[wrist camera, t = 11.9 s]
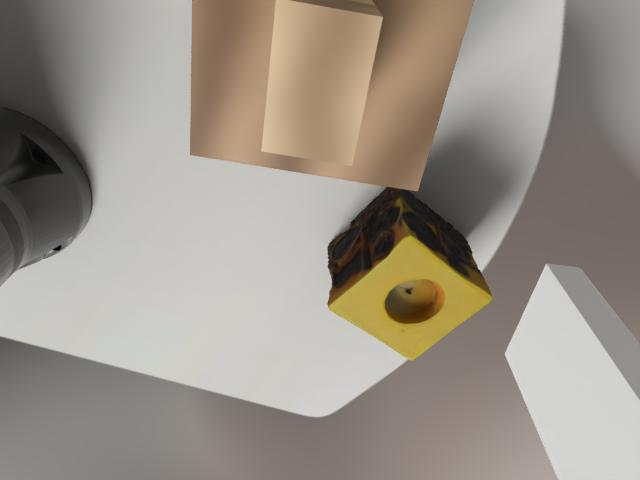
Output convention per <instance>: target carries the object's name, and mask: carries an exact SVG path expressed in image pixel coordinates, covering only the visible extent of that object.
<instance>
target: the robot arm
mask: <svg viewBox="0 0 640 480" xmlns="http://www.w3.org/2000/svg"><path fill="white" fill-rule="evenodd" d="M90 212H91V191H90V187H89V183H88V180H87V177H86V175H85V173H84V171H83V169H82V167H81V165H80V163H79V162H78V160H77V159H76V157H75V156H74V154H73V153H72V152H71V151H70V149H69V148H68V147H67V146H66V145H65V144H64V143H63V142H62V141H61V140H60V139H59V138H58V137H57V136H56V135H55V134H54V133H52V132H51V131H50V130H48V129H47V128H46V127H44V126H43V125H41V124H40V123H38V122H36V121H35V120H33V119H31V118H29V117H27V116H25V115H23V114H20V113H18V112H15V111H12V110H9V109H5V108H0V286H1V285H2V284H3V283H4V282H5V281H6V280H7V279H8V278H9V277H10V276H11V275H12V274H13V273H14V272H15V271H17V270H19V269H22V268H24V267H26V266H29V265H31V264H34V263H36V262H38V261H41V260H42V259H45V258H48V257H50V256H53V255H55V254H57V253H59V252H60V251H62V250H63V249H65V248H66V247H67V246H68V245H70V244H71V243H72V242H73V240H74V239H75V238H76V237H77V236H78V235H79V234H80V233H81V232H82V230H83V229H84V228H85V226H86V224H87V222H88V220H89V216H90ZM505 356H506V358H507V360H508V363H509V365H510V367H511V370H512V372H513V375H514V377H515V379H516V382H517V384H518V386H519V389H520V391H521V393H522V396H523V398H524V400H525V403H526V405H527V407H528V410H529V412H530V414H531V417H532V419H533V421H534V424H535V426H536V429H537V431H538V433H539V436H540V438H541V440H542V443H543V445H544V447H545V450H546V452H547V454H548V456H549V459H550V461H551V464H552V466H553V468H554V471H555V473H556V475H557V478H558V480H640V344H639V343H638V341H637V340H636V339H635V338H634V336H633V335H632V334H631V332H630V331H629V330H628V329H627V327H626V326H625V325H624V324H623V322H622V321H621V320H620V318H619V317H618V316H617V315H616V313H615V312H614V311H613V310H612V308H611V307H610V306H609V304H608V303H607V302H606V301H605V299H604V298H603V297H602V295H601V294H600V293H599V291H598V290H597V289H596V288H595V286H594V285H593V284H592V283H591V281H590V280H589V279H588V277H587V276H586V275H585V274H584V272H583V271H582V270H581V269H580V268H577V267H570V266H561V265H553V264H546V265H545V268H544V270H543V272H542V275H541V276H540V279H539V281H538V283H537V285H536V287H535V290H534V292H533V294H532V296H531V298H530V300H529V302H528V305H527V307H526V309H525V312H524V313H523V316H522V318H521V320H520V322H519V324H518V326H517V328H516V331H515V333H514V335H513V337H512V339H511V342H510V344H509V346H508V348H507V350H506V353H505Z"/></svg>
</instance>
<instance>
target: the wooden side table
mask: <svg viewBox="0 0 640 480" xmlns="http://www.w3.org/2000/svg"><path fill="white" fill-rule="evenodd" d="M473 2H474V0H192V61H191V135H190V155H194V156H200V157H206V158H213V159H219V160H225V161H231V162H237V163H244V164H250V165H256V166H262V167H269V168H275V169H281V170H287V171H293V172H300V173H306V174H312V175H318V176H324V177H331V178H337V179H343V180H349V181H356V182H362V183H368V184H374V185H380V186H387V187H393V188H399V189H405V190H412V191H418V189H419V186H420V182H421V179H422V176H423V172H424V169H425V165H426V162H427V159H428V155H429V152H430V148H431V145H432V142H433V138H434V135H435V131H436V128H437V125H438V121H439V118H440V114H441V111H442V108H443V104H444V101H445V97H446V94H447V91H448V87H449V84H450V80H451V77H452V74H453V70H454V67H455V63H456V60H457V57H458V53H459V50H460V46H461V43H462V40H463V36H464V33H465V29H466V26H467V23H468V19H469V16H470V12H471V9H472V6H473Z"/></svg>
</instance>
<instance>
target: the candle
mask: <svg viewBox="0 0 640 480" xmlns="http://www.w3.org/2000/svg"><path fill="white" fill-rule="evenodd" d="M328 256H329V257H328V259H329V261H328V263H329V264H328V268H329V271H330V275H331V278H332V288H331V290H330V297H329V300H328V308H329V310H331V311H333V312H334V313H336V314H337V315H339V316H341V317H342V318H344V319H346V320H347V321H349V322H351V323H352V324H354V325H355V326H357V327H359V328H361V329H362V330H364V331H366V332H367V333H369V334H370V335H372V336H374V337H375V338H377V339H378V340H380V341H381V342H383V343H385V344H386V345H388V346H389V347H391V348H392V349H394V350H395V351H397V352H398V353H399V354H401V355H402V356H404V357H406V358H407V359H409V360H414V359H415V358H417V357H418V356H419V355H421V354H422V353H423V352H424V351H426V350H427V349H428V348H430V347H431V346H432V345H433V344H435V343H436V342H437V341H438V340H440V339H441V338H442V337H444V336H445V335H446V334H447V333H448V332H450V331H451V330H453V329H454V328H455V327H457V326H458V325H459V324H461V323H462V322H464V321H465V320H467V319H468V318H469V317H471V316H472V315H473V314H475V313H476V312H477V311H478V310H480V309H481V308H482V307H484V306H485V305H487V304H488V303H489V302H491V300H492V295H491V292H490V290H489V287H488V285H487V283H486V282H485V279H484V277H483V276H482V274H481V272H480V270H479V269H478V267H477V264H476V262H475V261H474V259H473V256H472V251H471V248H470V246H469V245H468V242H467V240H466V239H465V238H464V237H463V236H462V235H461V234H460V233H459V232H458V231H457V230H455V229H454V228H453V226H452V225H451V224H449V223H448V222H445V221H444V219H443V218H441V217H440V216H439V215H438V214H436V213H435V212H434V211H433V210H432V209H430V208H429V207H428V206H427V205H426V204H423V203H422V202H421V201H420V200H418V199H417V198H416V197H415V196H414V195H413V194H411V193H410V192H409V191H407V190H405V189H399V188H393V187H388V188H387V189H386V190H385V191H384V192H383V193H382V194H381V195H380V196H379V197H378V198H377V199H375V200H373V202H372V203H371V204H369V205H368V206H367V207H366V209H365V210H364V211H363V212H362V213H360V214H359V215H358V216H357V217H356V218H355V221H353V222H351V228H350V229H349V230H348V231H347V232H345V233H344V234H343V235H341V236H340V237H338V238H337V239H335V240H334V241H333V242H331V243H330V245H329V246H328Z"/></svg>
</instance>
